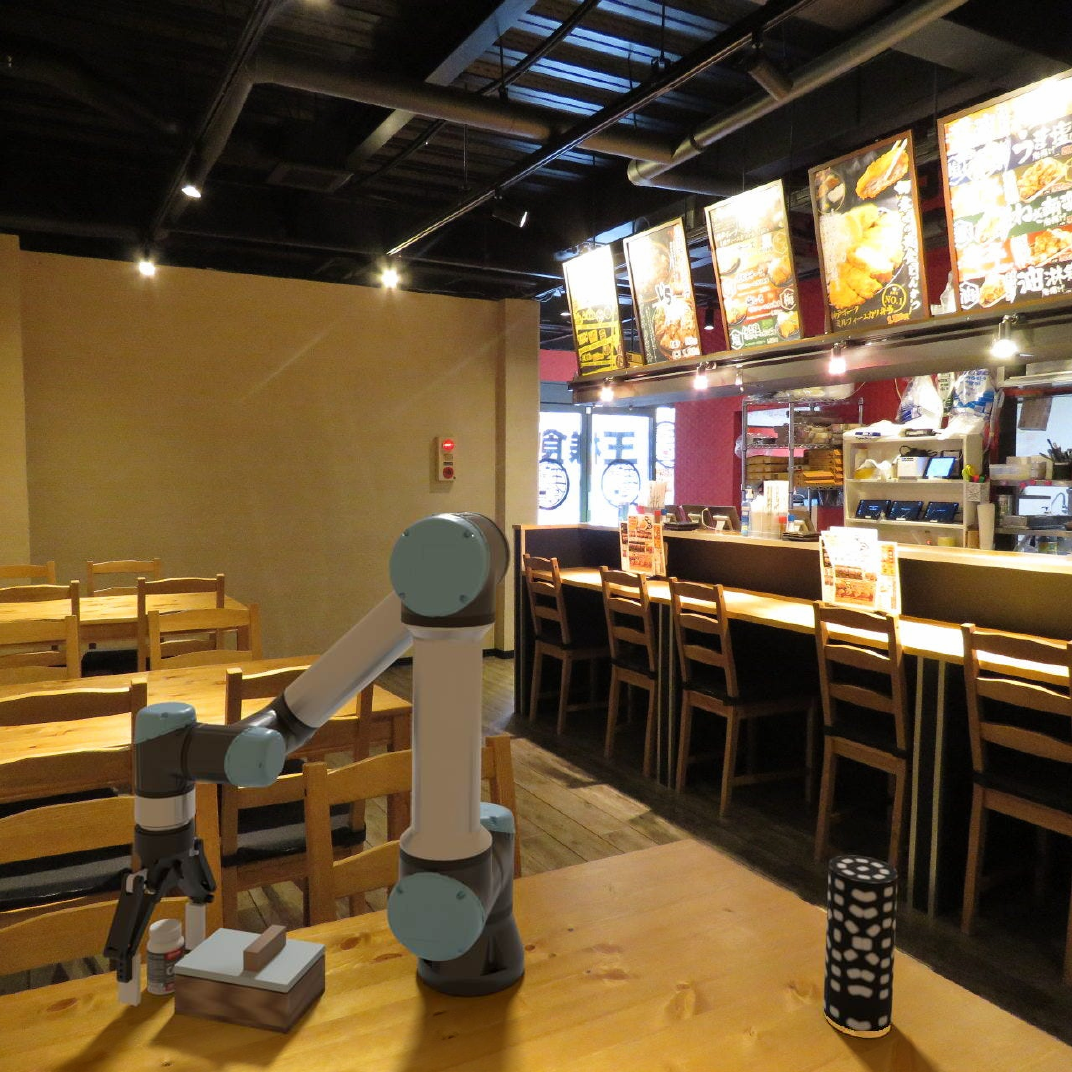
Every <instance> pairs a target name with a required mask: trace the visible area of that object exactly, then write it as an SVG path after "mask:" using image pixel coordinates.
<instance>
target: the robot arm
mask: <svg viewBox="0 0 1072 1072" xmlns="http://www.w3.org/2000/svg"><path fill="white" fill-rule="evenodd" d="M391 549H392V550H391V553H390V556H389V561H388V562H389V564H388V573H389V580H390V583H391V586H392V589H393V590H392V591H391V592H390V593H389V594H388V595H386V596H385V597H384V599H382V600H381V601H380V602H379V603H378V604H377V605H376V606H374V607H373V608H372V609H371V610H370V611H369V612H368V613H366V614H365V615H364V617H362V618H361V619H360V620H359V621H358V622H357V623H356V624H355V625H354V626H353V627H351V629H349V630H348V631H347V632H346V633H345V634H344V635H343V636H342V637H340V639H338V640H337V641H336V642H335V643H333V645H332V646H331V647H330V648H328V649H327V650H326V651H325V652H324V653H323V654H322V655H321V656H320V657H319V658H317V660H315V661H314V662H313V663H312V664H310V666H309V667H308V668H306V670H305V671H303V672H302V673H301V674H300V675H299V676H298V677H296V679H294V680H293V681H292V683H290V684H289V685H288V686H287V687H286V688H285V689H284V690H283V691H282V692H280V693H279V694H278V695H277V696H276V697H274V699H273V700H271V701H270V702H269V703H268V704H267V705H265V706H264V707H263V708H262V709H259V710H258V711H256V712H254V713H252V714H250V715H248V716H246V717H244V718H242V719H240V720H238V721H237V722H236V721H235V722H234V723H232V724H217V723H205V722H199V721H197V720H198V717H197V714H196V709H195V706H193V705H192V704H190V703H186V702H180V701H178V702H177V701H172V702H171V701H169V702H159V703H154V704H149V705H147V706H144V707H143V708H141V709H140V710H138V712H137V713H136V715H135V721H134V722H135V724H134V736H133V737H134V739H133V741H132V745H133V751H134V752H133V753H134V754H133V756H134V757H133V758H134V781H135V782H134V783H135V784H134V822H135V823H136V824H135V825H134V829H133V851H134V853H135V854H136V855H137V856H138V858H139V860H140V866H139V868H138V871H137V872H135V873H133V874H132V873H124V874H123V875H122V877H121V883H120V884H121V885H120V895H119V898H118V900H117V904H116V908H115V911H114V915H113V917H112V922H111V923H110V928H109V931H108V935H107V937H106V938H107V939H106V942H105V944H104V949H103V952H102V957H103V958H105V959H110V960H116V981H117V983H118V986H117V987H118V988H117V989H118V990H117V992H118V995H117V996H118V997H117V998H118V999H117V1000H118V1003H121V1004H125V1005H126V1004H127V1005H131V1006H138V1005H140V1003H141V997H142V996H141V987H142V986H141V985H142V984H141V983H142V982H141V980H142V979H141V977H142V976H141V975H142V973H141V970H142V969H141V968H142V966H141V964H142V963H141V959H142V958H141V957H142V955H141V954H142V953H141V952H137V950H138V948H139V946H140V944H141V940H142V939H143V936H144V935H145V931H146V929H147V927H148V925H149V922H150V919H151V917H152V914H153V912H154V910H155V908H156V905H157V904H159V903H161V901H162V899H163V896H164V894H166V893H167V892H168V891H170V889H172V888H174V887H178V888H179V889H180V890H181V891H182V892H183V893H184V895H186V897H187V898H188V899H189V902H187V903H186V904H185V934H184V935H185V937H184V950H190V951H192V950H194V949H195V948H196V947H197V946H199V945H200V944H201V943H202V942H204V941H205V940H206V922H207V904H212V903H213V902H214V900H215V895H214V893H215V892H216V891H217V889H218V885H217V882H216V880H215V877H214V874H213V871H212V870H211V867H210V864H209V861H208V858H207V856H206V854H205V847H204V845H205V844H204V839H203V838H200V837H196V820H195V819H194V816H195V814H196V782H201V783H208V784H209V783H210V784H219V785H225V786H226V785H227V786H236V787H238V788H265V787H269V786H271V785H273V784H274V783H275V782H276V781H277V780H278V778H279V774H281V773H282V771H283V768H284V765H285V762H286V761H285V760H286V756H288V755H289V754H291V753H293V752H295V751H298V750H299V749H301V748H302V747H303V746H305V745H306V744H307V743H308V742H309V741H310V739H312V737H313V736H314V734H315V733H316V732H317V731H318V730H319V729H320V728H321V727H322V726H323V725H324V724H326V723H327V722H328V721H329V720H330V719H331V718H332V717H333V716H335V714H337V713H338V712H339V711H340V710H341V709H342V708H343V707H345V706H346V705H347V704H348V703H349V702H350V701H352V700H353V699H354V698H355V697H356V696H357V695H358V694H359V693H361V692H362V690H364V689H365V688H366V687H367V686H369V684H370V683H372V682H373V681H374V680H375V679H376V678H377V677H378V676H380V674H382V673H383V672H384V671H385V670H386V669H388V668H389V667H390V666H391V665H392V664H393V663H395V662H396V660H397V659H399V658H400V657H401V656H402V655H403V654H405V653H406V652H407V651H408V650H409V649H410V648H411V647H412V724H411V725H412V726H411V728H412V731H411V733H412V739H411V743H412V744H411V745H412V746H411V749H412V750H411V825H410V826H409V827H408V828H406V830H404V832H402V834H401V835H400V837H399V843H398V848H399V849H398V855H399V856H398V880H397V882H396V884H394V885H393V887H392V889H391V892H390V894H389V898H388V901H387V903H386V904H387V905H386V906H387V907H386V919H387V923H388V925H389V928H390V930H391V933H392V935H393V937H394V938H395V940H396V941H397V942H398V943H401V944H402V946H404V947H405V950H407V951H408V952H409V953H411V954H412V955H414V956H416V957H417V973H418V976H419V977H420V979H421V980H422V981H423V982H424V983H425V984H426V985H427V986H428V987H430V988H433V989H434V990H437V991H438V992H441V993H445V994H449V995H455V996H463V997H464V996H465V997H467V996H469V997H471V996H472V997H473V996H483V995H488V994H493V993H497V992H500V991H502V990H504V989H507V988H508V987H510V986H512V985H513V984H515V983H516V982H517V981H518V980H519V979H520V978H521V976H522V974H523V973H524V970H525V947H524V944H523V941H522V937H521V934H520V932H519V929H518V926H517V922H516V918H515V916H514V873H515V872H514V865H515V835H516V832H517V831H516V829H515V817H514V815H513V812H512V811H511V810H510V809H509V808H508V807H505V806H502V805H500V804H496V803H492V802H491V803H490V802H486V801H485V802H484V801H481V799H482V798H481V796H482V795H481V793H482V790H481V789H482V786H481V785H482V727H483V726H482V724H483V722H482V719H483V718H482V717H483V714H482V712H483V709H482V707H483V703H482V702H483V648H484V647H483V640H484V639H483V638H484V636H485V634H486V633H488V632H489V630H490V629H492V628H493V626H494V625H495V624H496V600H497V599H496V597H497V596H496V595H497V594H496V593H497V591H496V589H497V588H498V587H499V585H500V584H501V583H502V582H503V581H504V579H505V578H506V576H507V574H508V571H509V568H510V565H511V563H510V562H511V548H510V543H509V539H508V538H507V535H506V533H505V532H504V530H503V529H502V527H501V526H500V525H499V524H498V523H496V522H495V521H494V520H493V518H490V517H489V516H487V515H485V514H482V513H478V512H475V511H457V512H453V513H452V512H451V513H449V512H443V513H433V514H431V515H427V516H425V517H423V518H421V519H419V520H417V521H415V522H414V523H412V524H411V525H409V526H408V527H407V528H406V529H404V531H403V532H402V533H401V534H400V535H399V536H398V538H397V540H396V541H395V543H394V545H393V547H392V548H391ZM146 890H147V891H148V892H149V893H148V892H147V893H146V892H145V891H146ZM212 893H213V894H212ZM191 901H192V902H191Z"/></svg>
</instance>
